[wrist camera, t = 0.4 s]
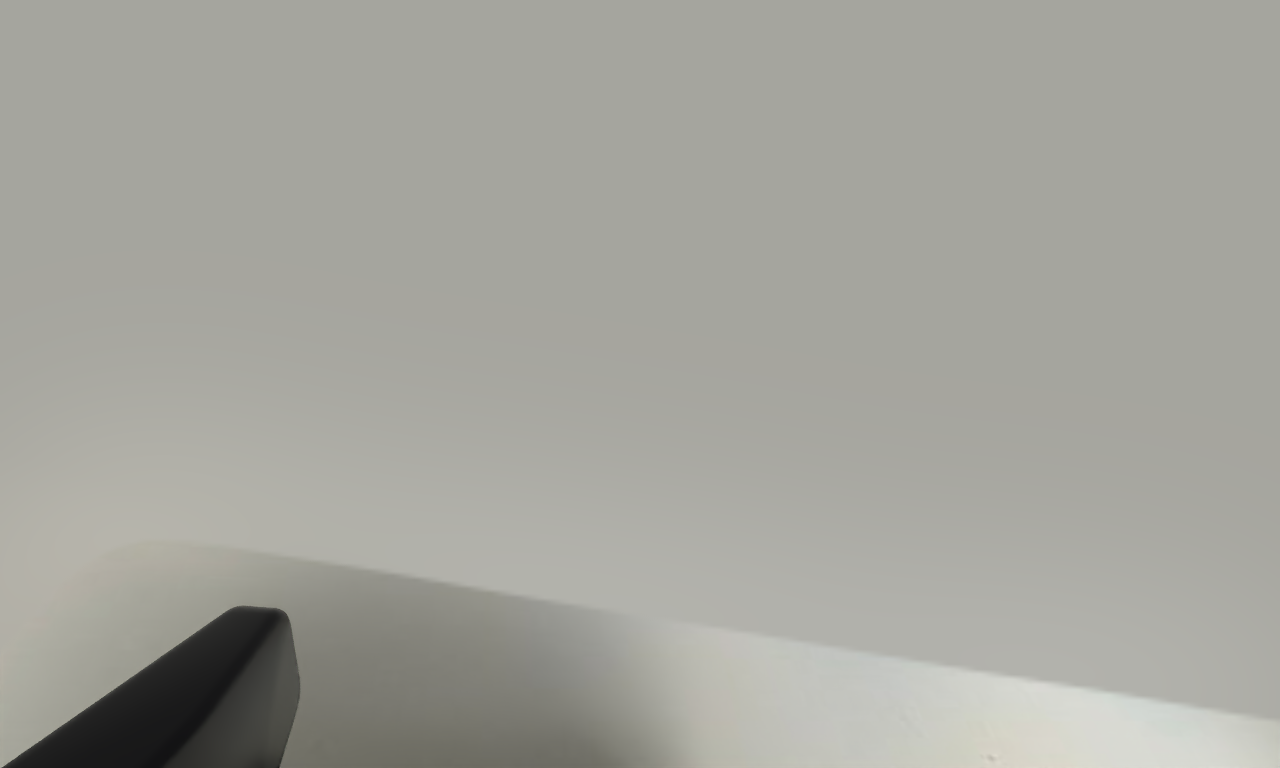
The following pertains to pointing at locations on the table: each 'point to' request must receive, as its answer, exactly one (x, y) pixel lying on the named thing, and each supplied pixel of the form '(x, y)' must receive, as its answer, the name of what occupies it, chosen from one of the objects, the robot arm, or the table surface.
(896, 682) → the table surface
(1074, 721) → the table surface
